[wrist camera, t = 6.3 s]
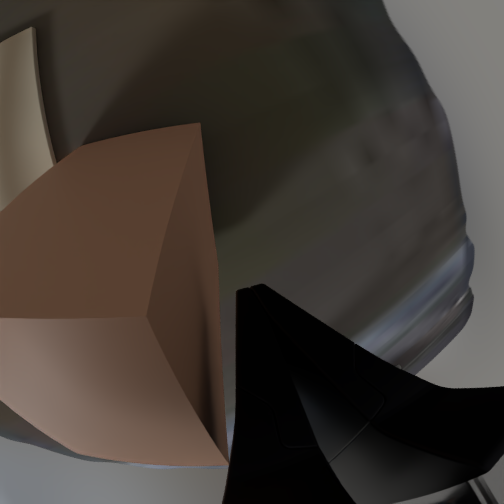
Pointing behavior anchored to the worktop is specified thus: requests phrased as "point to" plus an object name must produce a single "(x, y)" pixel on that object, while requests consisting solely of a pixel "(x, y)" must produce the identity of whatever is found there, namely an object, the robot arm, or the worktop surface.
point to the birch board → (21, 117)
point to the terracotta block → (117, 302)
